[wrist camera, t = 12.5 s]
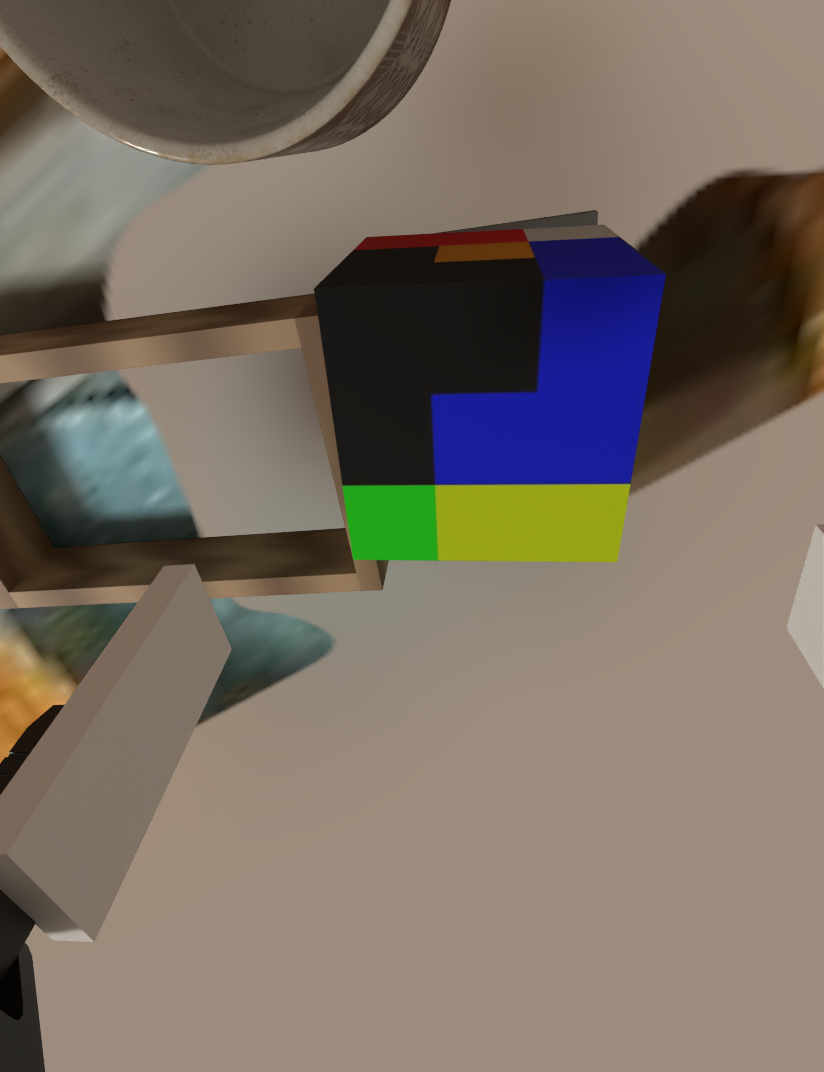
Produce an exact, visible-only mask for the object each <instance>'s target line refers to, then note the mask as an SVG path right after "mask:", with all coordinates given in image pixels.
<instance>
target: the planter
mask: <svg viewBox="0 0 824 1072" xmlns="http://www.w3.org/2000/svg"><path fill="white" fill-rule="evenodd" d="M450 2H451V0H0V46H1V47H2V48H3V50H4V51H5V52H6V53H7V54H8V55H9V56H10V58H11V59H12V60H13V61H14V62H15V63H16V64H17V65H18V66H19V67H20V68H21V69H22V70H23V71H24V72H25V73H26V74H27V75H28V76H29V77H30V78H31V79H32V80H33V81H34V82H35V83H36V84H37V85H38V86H39V87H40V88H41V89H43V90H44V91H45V92H46V93H47V94H48V95H49V96H50V97H52V98H53V99H54V100H55V101H57V102H58V103H59V104H60V105H62V106H63V107H64V108H65V109H67V110H68V111H69V112H71V113H72V114H74V115H75V116H76V117H78V118H79V119H81V120H82V121H83V122H85V123H87V124H88V125H90V126H91V127H93V128H95V129H96V130H98V131H100V132H101V133H103V134H105V135H107V136H109V137H111V138H113V139H114V140H116V141H118V142H120V143H123V144H125V145H127V146H130V147H132V148H134V149H137V150H139V151H142V152H145V153H148V154H151V155H154V156H157V157H161V158H165V159H169V160H173V161H179V162H185V163H192V164H207V165H214V164H232V163H239V162H247V161H253V160H260V159H266V158H273V157H280V156H286V155H293V154H299V153H306V152H313V151H319V150H323V149H328V148H331V147H334V146H337V145H340V144H343V143H345V142H347V141H350V140H352V139H354V138H356V137H357V136H359V135H361V134H363V133H364V132H366V131H367V130H369V129H370V128H372V127H373V126H375V125H376V124H377V123H378V122H379V121H381V120H382V119H383V118H384V117H386V115H388V114H389V113H390V112H391V111H392V110H393V109H394V108H395V107H396V106H397V105H398V103H399V102H400V101H401V100H402V99H403V98H404V97H405V95H406V94H407V92H408V91H409V90H410V89H411V87H412V86H413V85H414V83H415V82H416V80H417V78H418V77H419V75H420V74H421V72H422V70H423V69H424V67H425V65H426V63H427V61H428V59H429V58H430V56H431V54H432V51H433V49H434V47H435V45H436V43H437V40H438V38H439V35H440V32H441V30H442V27H443V25H444V22H445V19H446V15H447V12H448V9H449V6H450Z"/></svg>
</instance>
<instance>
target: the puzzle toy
mask: <svg viewBox="0 0 824 1072" xmlns="http://www.w3.org/2000/svg"><path fill="white" fill-rule="evenodd" d="M665 278H666V273H665V272H664V271H663V270H661V269H660V268H659V267H657V266H656V265H655V264H654V263H652V262H651V261H650V260H648V259H647V258H646V257H645V256H643V255H642V254H641V253H640V252H638V251H637V250H636V249H634V248H633V247H632V246H631V245H629V244H628V243H627V242H625V241H624V240H623V239H622V238H620V237H619V236H618V235H616V234H615V233H614V232H613V231H611V230H610V229H609V228H607V227H606V226H605V225H589V226H570V227H551V228H532V229H513V230H494V231H475V232H456V233H437V234H419V235H400V236H381V237H367V238H365V239H364V240H363V242H361V243H360V244H359V245H358V247H356V248H355V249H354V250H353V251H352V252H351V253H350V254H349V255H348V256H347V257H346V258H345V259H344V260H343V261H342V262H341V263H340V264H339V265H338V266H337V267H336V268H335V269H334V270H333V271H332V272H331V273H330V274H329V275H328V276H327V277H326V278H325V279H324V280H322V281H321V282H320V283H319V284H318V285H317V286H316V287H315V289H314V292H315V299H316V306H317V313H318V320H319V327H320V334H321V341H322V348H323V354H324V361H325V368H326V375H327V382H328V389H329V396H330V403H331V410H332V417H333V424H334V431H335V438H336V445H337V452H338V459H339V466H340V472H341V479H342V486H343V493H344V500H345V507H346V514H347V521H348V528H349V535H350V542H351V549H352V556H353V560H434V561H550V562H554V561H555V562H558V561H559V562H617V559H618V554H619V548H620V542H621V536H622V530H623V525H624V519H625V512H626V507H627V501H628V495H629V489H630V484H631V478H632V472H633V466H634V460H635V454H636V448H637V443H638V437H639V431H640V425H641V419H642V413H643V407H644V401H645V396H646V390H647V384H648V378H649V372H650V366H651V360H652V355H653V349H654V343H655V337H656V331H657V325H658V319H659V313H660V308H661V302H662V296H663V290H664V284H665Z"/></svg>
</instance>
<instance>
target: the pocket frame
mask: <svg viewBox="0 0 824 1072" xmlns="http://www.w3.org/2000/svg"><path fill="white" fill-rule="evenodd" d="M295 348H302V352H303V356H304V360H305V364H306V368H307V373H308V377H309V380H310V385H311V389H312V393H313V397H314V401H315V405H316V409H317V414H318V418H319V421H320V426H321V430H322V434H323V438H324V442H325V446H326V450H327V454H328V459H329V463H330V467H331V471H332V475H333V478H334V483H335V487H336V491H337V495H338V499H339V504H340V507H341V512H342V516H343V520H344V524H345V528H341V529H326V530H312V531H296V532H281V533H266V534H251V535H237V536H222V537H207V538H192V539H177V540H162V541H147V542H133V543H118V544H103V545H88V546H73V547H58V548H54V547H53V545H52V544H51V542H50V540H49V538H48V537H47V535H46V533H45V532H44V530H43V528H42V527H41V525H40V523H39V521H38V520H37V518H36V516H35V515H34V513H33V511H32V509H31V508H30V506H29V504H28V503H27V501H26V499H25V498H24V496H23V494H22V492H21V491H20V489H19V487H18V486H17V484H16V482H15V480H14V479H13V477H12V475H11V474H10V472H9V470H8V469H7V467H6V465H5V463H4V462H3V460H2V458H1V457H0V607H1V609H9V608H29V607H49V606H69V605H89V604H109V603H129V602H138V601H139V600H140V599H141V597H142V596H143V594H144V593H145V592H146V590H147V589H148V587H149V586H150V585H151V583H152V582H153V580H154V579H155V578H156V576H157V575H158V573H159V572H160V571H161V569H162V568H163V566H171V565H186V564H195V567H196V569H197V571H198V573H199V576H200V578H201V580H202V583H203V585H204V587H205V589H206V592H207V594H208V596H209V598H229V597H248V596H268V595H288V594H308V593H328V592H348V591H367V590H382V589H383V585H384V580H385V575H386V571H387V566H388V561H389V560H353V556H352V549H351V542H350V535H349V528H348V521H347V514H346V507H345V500H344V493H343V486H342V479H341V472H340V466H339V459H338V452H337V445H336V438H335V431H334V424H333V417H332V410H331V403H330V396H329V389H328V382H327V375H326V368H325V361H324V354H323V348H322V341H321V334H320V327H319V320H318V313H317V306H316V299H315V294H308V295H301V296H293V297H286V298H278V299H270V300H263V301H256V302H248V303H241V304H233V305H225V306H218V307H211V308H203V309H195V310H188V311H180V312H172V313H165V314H157V315H150V316H143V317H135V318H128V319H120V320H112V321H105V322H97V323H89V324H82V325H74V326H67V327H59V328H52V329H44V330H37V331H29V332H22V333H14V334H7V335H0V383H8V382H17V381H25V380H34V379H42V378H51V377H59V376H68V375H76V374H85V373H93V372H102V371H110V370H118V369H127V368H135V367H143V366H152V365H161V364H168V363H178V362H186V361H195V360H203V359H212V358H220V357H229V356H237V355H245V354H254V353H262V352H271V351H279V350H287V349H295Z"/></svg>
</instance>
